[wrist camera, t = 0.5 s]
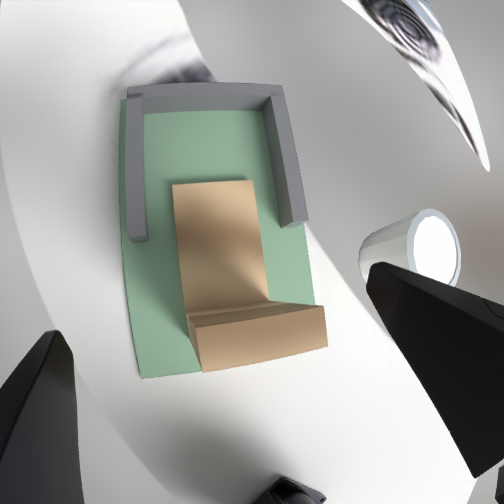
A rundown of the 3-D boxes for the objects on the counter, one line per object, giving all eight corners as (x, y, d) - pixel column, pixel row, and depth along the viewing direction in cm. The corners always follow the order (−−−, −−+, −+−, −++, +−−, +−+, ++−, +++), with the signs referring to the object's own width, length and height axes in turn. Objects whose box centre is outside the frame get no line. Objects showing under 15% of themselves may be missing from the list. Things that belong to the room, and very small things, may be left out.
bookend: (269, 326, 23) (328, 346, 14) (189, 339, 21) (202, 372, 12) (250, 183, 23) (294, 128, 15) (172, 188, 22) (175, 129, 13)
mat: (318, 346, 24) (319, 346, 23) (141, 377, 20) (141, 378, 20) (278, 98, 25) (279, 96, 25) (121, 102, 22) (121, 100, 21)
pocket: (295, 227, 24) (308, 220, 22) (132, 243, 21) (127, 237, 18) (272, 100, 25) (281, 85, 23) (130, 104, 22) (127, 87, 19)
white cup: (384, 314, 26) (440, 318, 19) (338, 262, 25) (392, 252, 18) (417, 261, 28) (470, 253, 21) (378, 210, 27) (430, 190, 20)
